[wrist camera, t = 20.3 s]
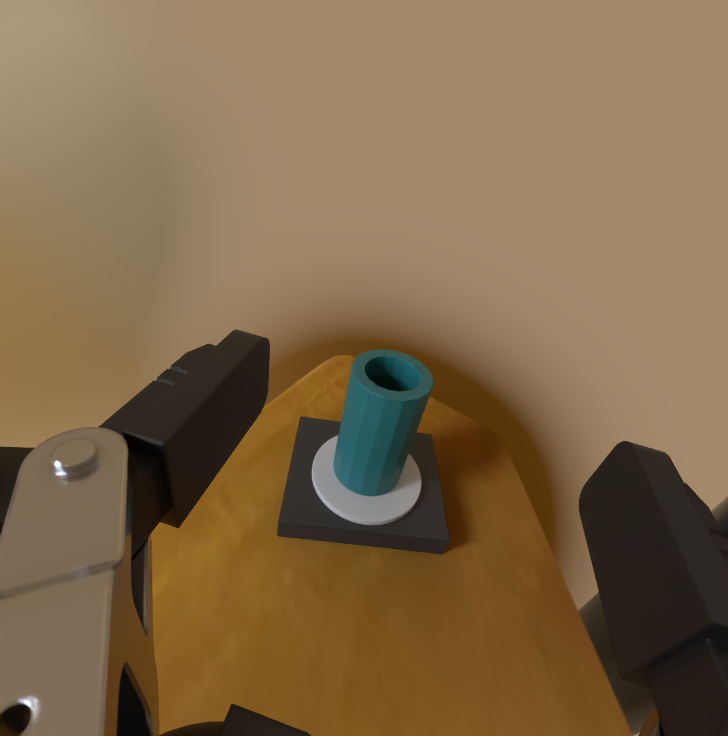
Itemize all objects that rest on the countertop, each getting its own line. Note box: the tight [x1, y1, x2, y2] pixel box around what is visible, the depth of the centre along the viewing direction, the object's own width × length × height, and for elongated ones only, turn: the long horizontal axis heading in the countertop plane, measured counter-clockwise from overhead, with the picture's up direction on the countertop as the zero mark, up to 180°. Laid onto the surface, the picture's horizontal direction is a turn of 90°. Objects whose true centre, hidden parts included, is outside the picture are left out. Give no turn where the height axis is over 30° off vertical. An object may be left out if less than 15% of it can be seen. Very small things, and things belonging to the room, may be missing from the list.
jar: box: [333, 349, 433, 496], centre depth 33 cm, size 6×6×11 cm
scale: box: [277, 417, 450, 554], centre depth 37 cm, size 14×12×3 cm
